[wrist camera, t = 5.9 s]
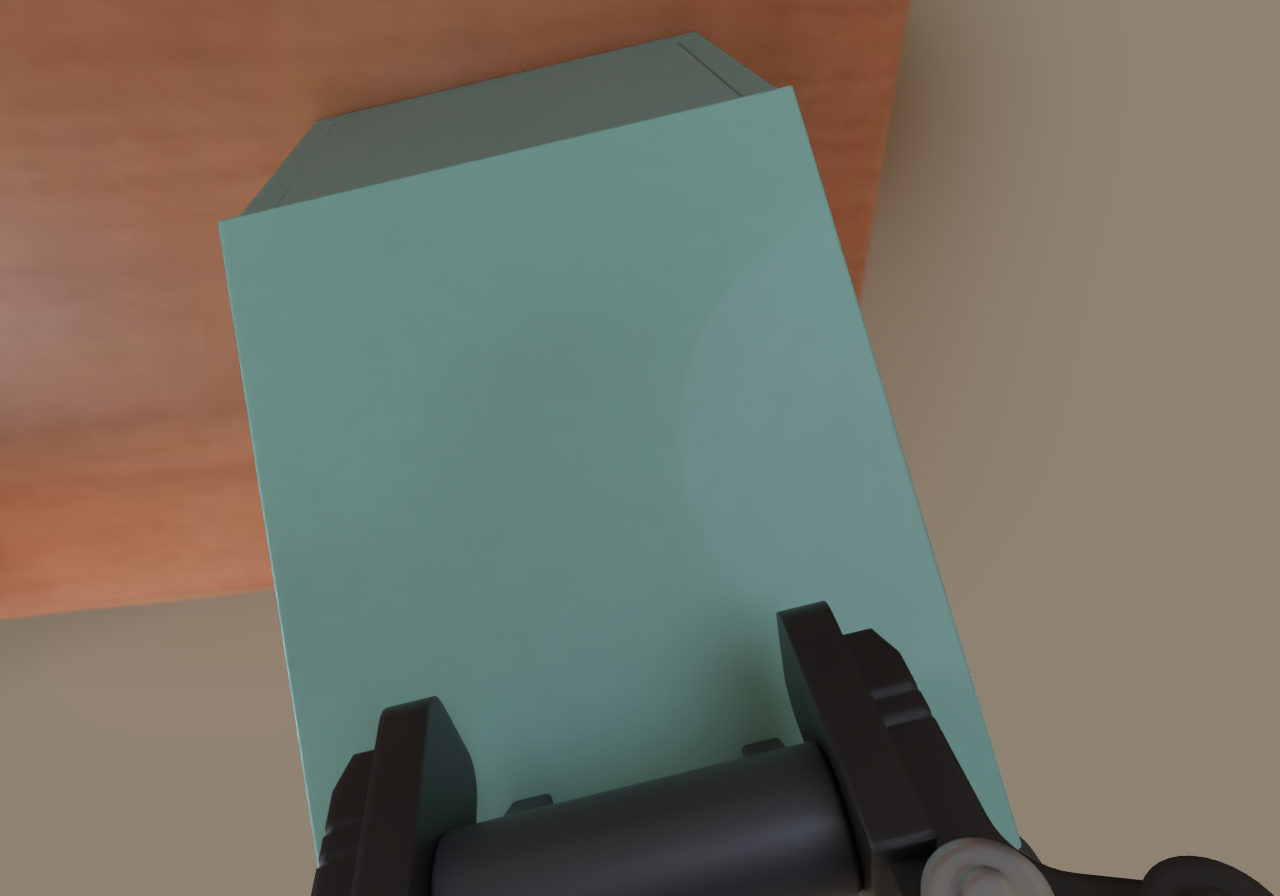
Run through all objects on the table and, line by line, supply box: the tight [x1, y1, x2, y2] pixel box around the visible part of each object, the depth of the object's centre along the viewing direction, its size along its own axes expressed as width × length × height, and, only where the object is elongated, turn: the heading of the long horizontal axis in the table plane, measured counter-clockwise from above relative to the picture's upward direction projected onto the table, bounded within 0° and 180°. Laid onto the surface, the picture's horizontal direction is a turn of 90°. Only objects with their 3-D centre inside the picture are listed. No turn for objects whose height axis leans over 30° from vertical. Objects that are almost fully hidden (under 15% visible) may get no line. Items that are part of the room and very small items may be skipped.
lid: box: [218, 86, 1021, 896], centre depth 12 cm, size 14×12×5 cm
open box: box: [240, 32, 777, 216], centre depth 24 cm, size 14×12×9 cm
